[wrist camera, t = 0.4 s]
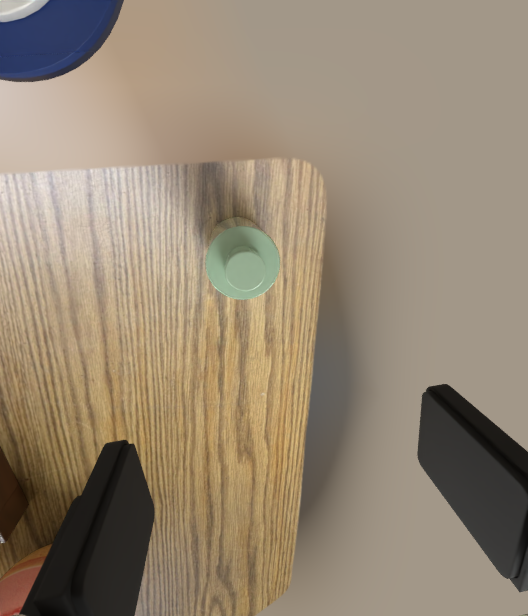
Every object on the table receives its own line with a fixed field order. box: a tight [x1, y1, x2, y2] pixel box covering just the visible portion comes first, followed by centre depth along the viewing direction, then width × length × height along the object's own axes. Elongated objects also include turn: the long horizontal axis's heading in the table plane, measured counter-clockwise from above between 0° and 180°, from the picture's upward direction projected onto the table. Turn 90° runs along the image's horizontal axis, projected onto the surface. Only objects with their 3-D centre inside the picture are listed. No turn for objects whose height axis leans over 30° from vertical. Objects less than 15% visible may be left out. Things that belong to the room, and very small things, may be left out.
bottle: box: [205, 217, 280, 300], centre depth 23 cm, size 5×5×10 cm
